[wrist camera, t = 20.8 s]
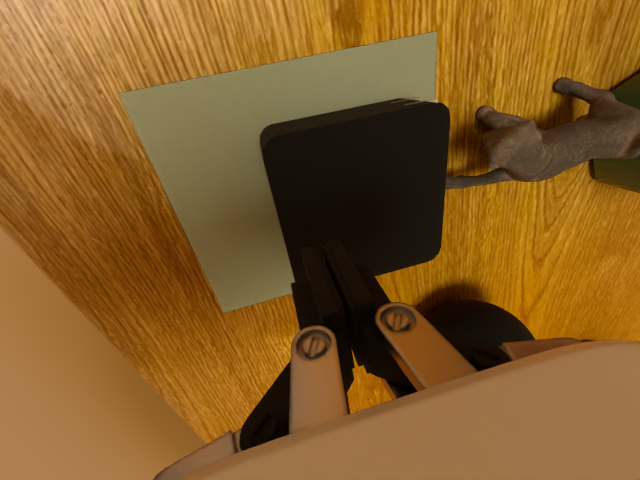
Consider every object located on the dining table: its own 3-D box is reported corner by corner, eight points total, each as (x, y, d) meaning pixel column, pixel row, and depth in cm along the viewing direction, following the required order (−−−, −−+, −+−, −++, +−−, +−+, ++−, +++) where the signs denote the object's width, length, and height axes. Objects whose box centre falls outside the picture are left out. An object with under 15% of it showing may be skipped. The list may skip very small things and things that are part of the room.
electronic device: (299, 298, 18) (440, 259, 20) (257, 139, 13) (453, 98, 14) (290, 262, 22) (411, 231, 23) (255, 127, 17) (412, 95, 18)
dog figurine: (586, 71, 20) (739, 67, 14) (564, 152, 23) (682, 179, 17) (430, 107, 19) (521, 120, 13) (428, 187, 22) (501, 230, 16)
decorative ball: (449, 262, 26) (546, 349, 18) (501, 301, 31) (597, 385, 22) (378, 334, 29) (433, 439, 21) (435, 360, 34) (499, 454, 25)
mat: (223, 308, 23) (223, 313, 23) (120, 92, 15) (117, 93, 15) (426, 252, 25) (429, 255, 25) (432, 32, 17) (437, 30, 17)
